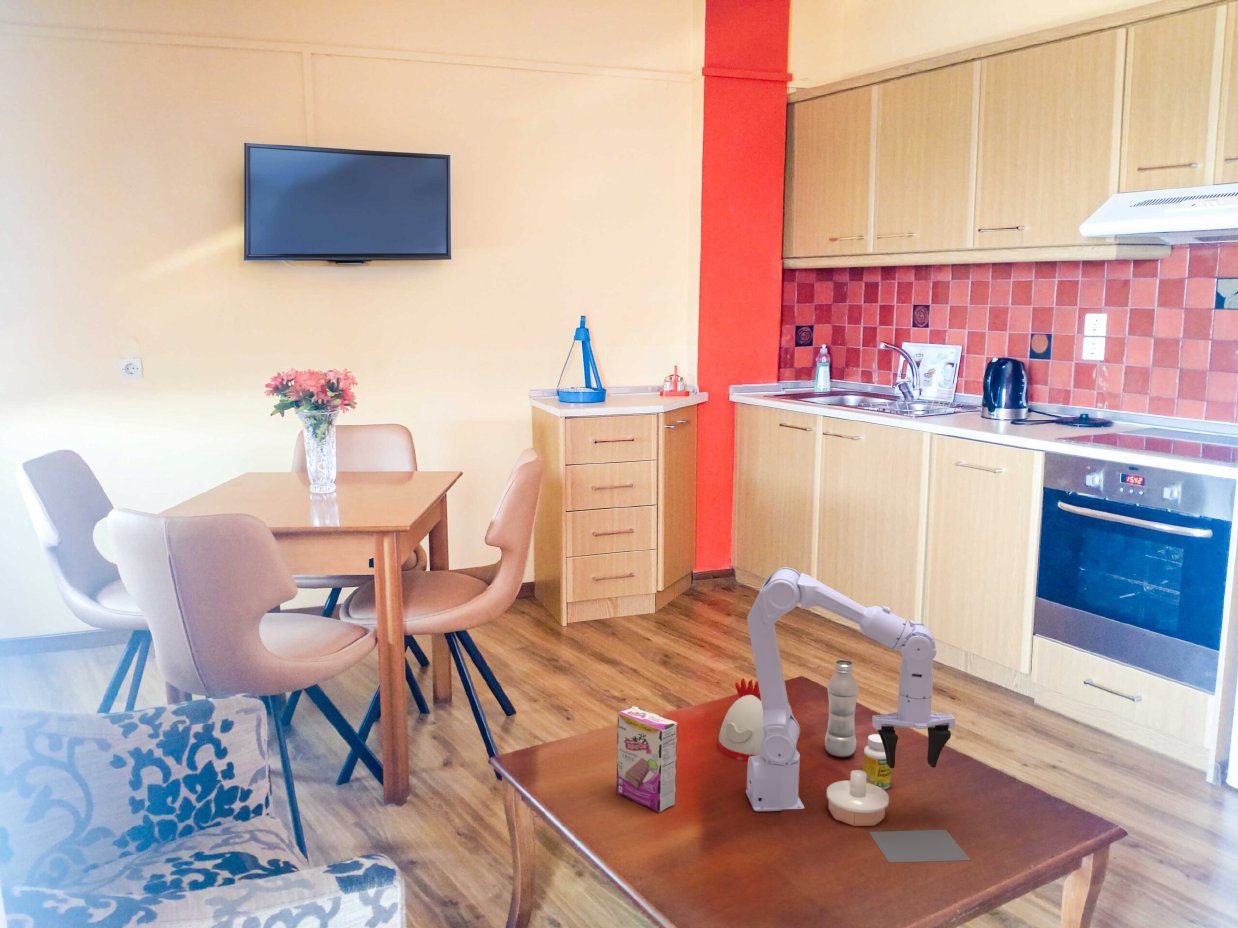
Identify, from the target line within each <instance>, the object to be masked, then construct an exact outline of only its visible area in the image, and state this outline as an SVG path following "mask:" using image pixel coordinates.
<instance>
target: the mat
mask: <svg viewBox="0 0 1238 928" xmlns="http://www.w3.org/2000/svg"><path fill="white" fill-rule="evenodd" d="M868 834H869V835H870V837H871V838H872V839H873V841H874V843H876V845H877V847H878V848H879V850H880V852H881V853H882V855H883V856H884V858H885V859H886V861H887V862H888V864H895V863H897V864H898V863H926V862H927V863H930V862H931V863H932V862H936V863H937V862H962V861H963V862H964V861H968V862H969V861H971V859H970V858H969V856H968V855H967V853H966V852H965V851H964V850H963V849H962V847H961V846H960V845H959V844H958V843H957V841H956V840H955V839H954V838H953V837H952V835H951V834H950V833H949V832H948V830H947V829H933V830H931V829H927V830H924V829H923V830H895V831H893V830H892V831H891V830H890V831H887V830H886V831H869V832H868Z"/></svg>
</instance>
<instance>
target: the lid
mask: <svg viewBox="0 0 1238 928" xmlns="http://www.w3.org/2000/svg"><path fill="white" fill-rule="evenodd" d="M866 777H867V774H866V772H864V771H863V770H861V769H853V770H851V771H850V780H838V781H835V782H832V783H831V784H830V785H829V786H828V787H827V788H826V798H827V800H828V802H829V801H830V802H831V803H832V804H834V805H835V806H837V807H839V808H842V809H844V810H848V811H852V812H858V813H873V812H878V811H881V810H883V809H885V810H886V808H887V807H889V803H890V798H889V797H890V796H889V794H888V793H887V791H886V790H883V789H881V788H880V787H878V786H876V785H873V784H870V783H867V782H866Z"/></svg>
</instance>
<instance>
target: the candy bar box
mask: <svg viewBox="0 0 1238 928" xmlns="http://www.w3.org/2000/svg"><path fill="white" fill-rule="evenodd" d="M616 735H617V745H616V750H617V751H616V794H618V795H620V796H622V797H624V798H627V799H629V800H631V801H633V802H635V803H638V804H640V805H642V806H643V807H644V806H645V807H646V808H648V809H651V810H653V811H655V812H657V813H663V812H664V811H666V810H668V809H669V808H672V807H673V806H675V805H676V793H677V791H676V790H677V786H676V785H677V754H678V753H677V751H678V750H677V747H678V722H676V721H674V720H671V719H669V718H667V717H663V716H661V715H658V714H656V713H653V712H650V711H649V710H648V711H647V710H645V709H642V708H641V707H637V706H635V705H633V706H631V707H628V708H625V709H623V710H620V711H618V712H617V734H616Z"/></svg>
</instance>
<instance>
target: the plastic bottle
mask: <svg viewBox="0 0 1238 928" xmlns="http://www.w3.org/2000/svg"><path fill="white" fill-rule="evenodd" d="M834 672H835V673H834V674H833V676H831V678H830V679H829V680H828V683H827V689H826V690H827V696H828V697H827V698H828V719H827V720H828V721H827V727H826V732H825V738H824V746H825V750H826V752H827V753H828V754H830V755H831V756H834V757H839V758H846V757H850V756H851V757H852V755H853V754H854V753H855V751H856V747H857V737H856V730H855V729H856V728H855V716H856V715H855V713H856V706H857V700H858V694H859V690H860V689H859V683H858V682H857V680H856V679H855V677H854V675H853V673H854V663H853V661H851V660H848V659H838V660H835V662H834Z"/></svg>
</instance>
